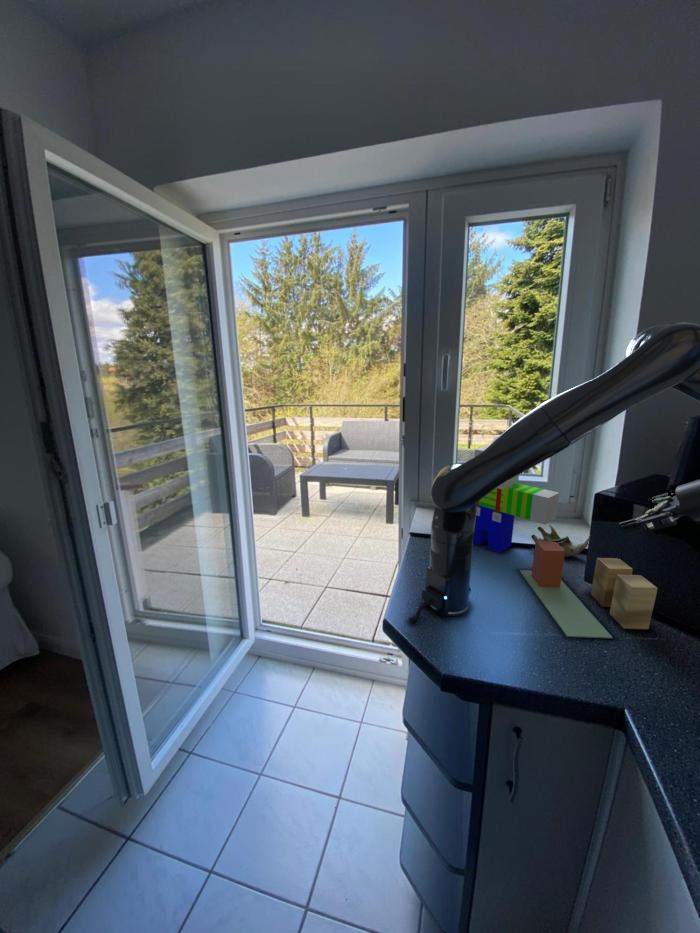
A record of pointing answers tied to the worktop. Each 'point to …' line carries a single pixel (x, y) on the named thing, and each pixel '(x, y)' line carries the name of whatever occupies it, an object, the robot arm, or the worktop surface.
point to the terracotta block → (548, 564)
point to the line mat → (567, 610)
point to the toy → (511, 511)
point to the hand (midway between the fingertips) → (626, 520)
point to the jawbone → (560, 542)
